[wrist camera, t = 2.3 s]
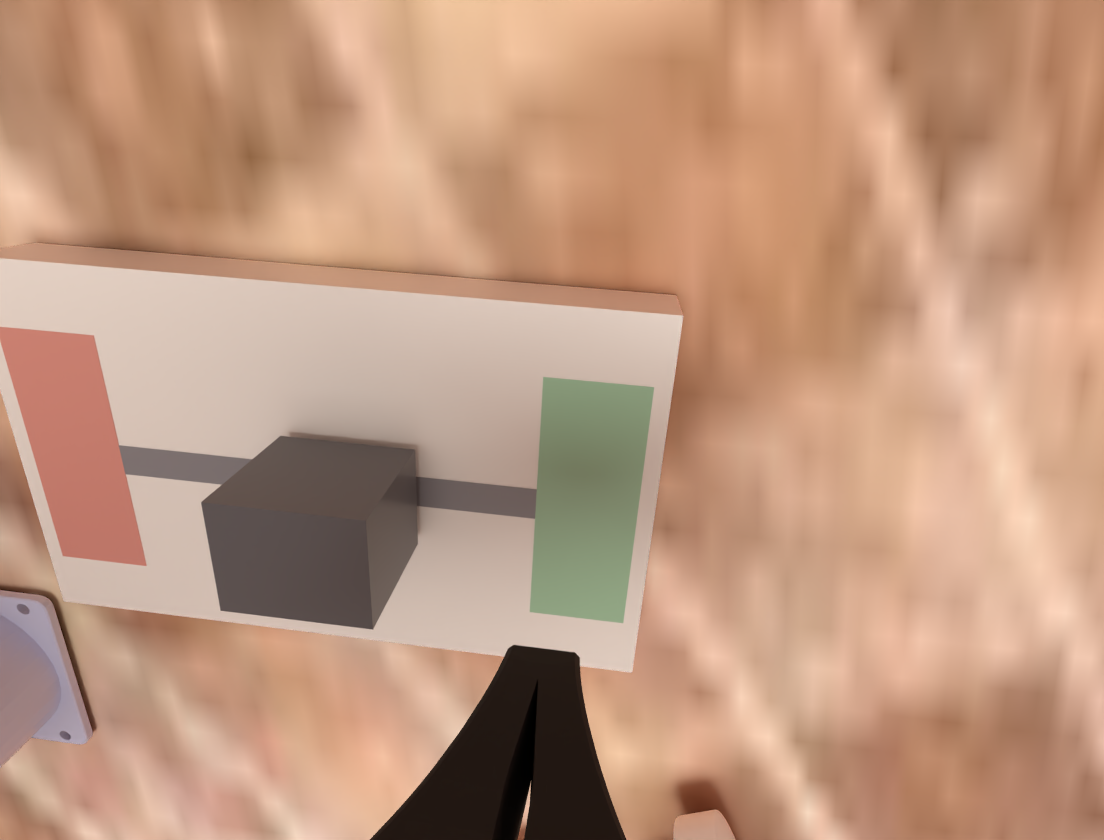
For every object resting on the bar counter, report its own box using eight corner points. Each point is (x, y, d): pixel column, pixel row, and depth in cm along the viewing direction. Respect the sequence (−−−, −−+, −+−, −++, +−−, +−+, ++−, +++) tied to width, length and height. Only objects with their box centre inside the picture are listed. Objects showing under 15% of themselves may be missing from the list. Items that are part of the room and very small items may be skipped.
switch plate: (115, 559, 25) (63, 601, 23) (35, 242, 20) (-41, 254, 18) (631, 621, 23) (632, 672, 21) (676, 294, 19) (683, 315, 16)
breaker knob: (291, 529, 20) (220, 610, 16) (280, 435, 19) (200, 502, 15) (417, 544, 20) (372, 629, 16) (415, 449, 18) (365, 520, 15)
